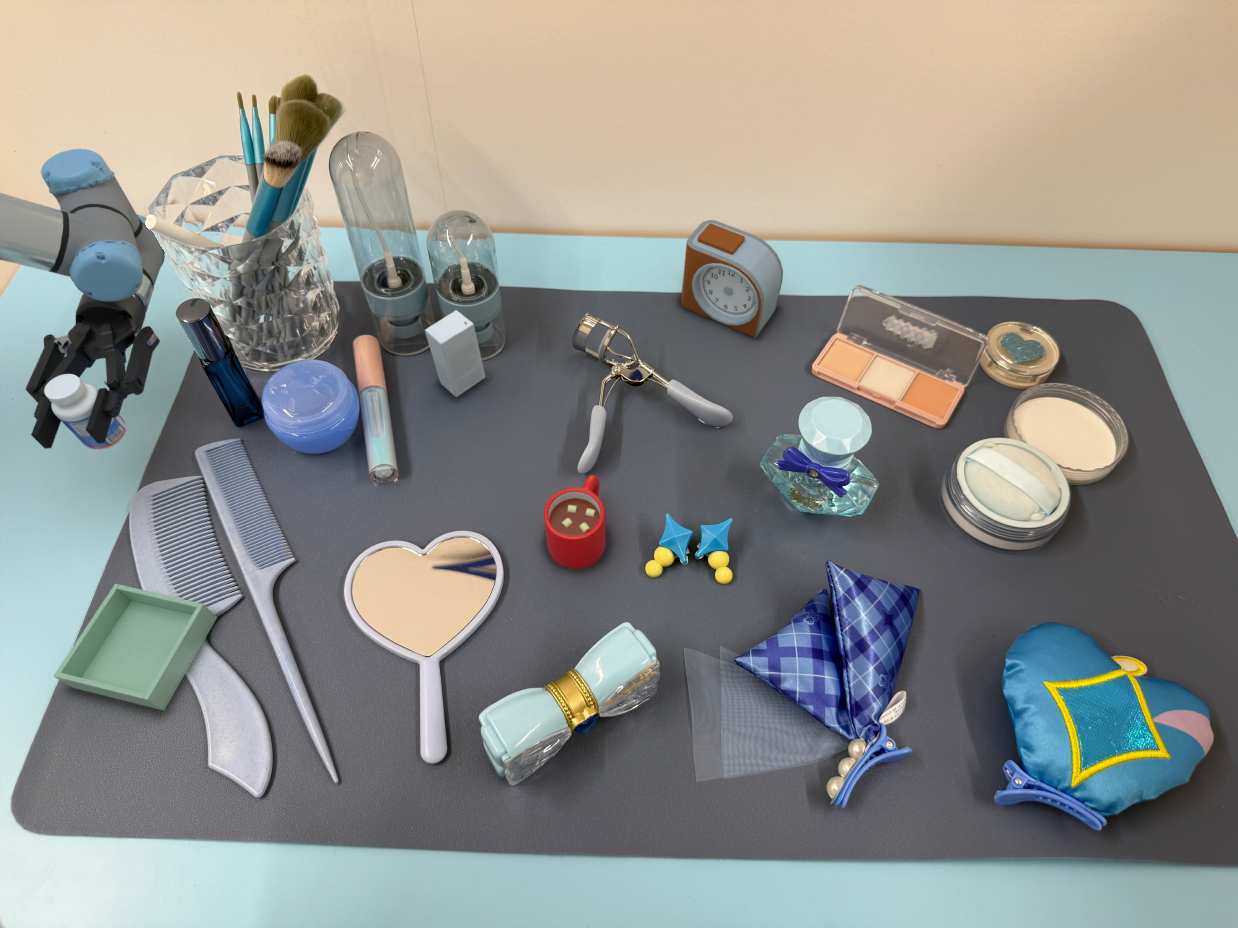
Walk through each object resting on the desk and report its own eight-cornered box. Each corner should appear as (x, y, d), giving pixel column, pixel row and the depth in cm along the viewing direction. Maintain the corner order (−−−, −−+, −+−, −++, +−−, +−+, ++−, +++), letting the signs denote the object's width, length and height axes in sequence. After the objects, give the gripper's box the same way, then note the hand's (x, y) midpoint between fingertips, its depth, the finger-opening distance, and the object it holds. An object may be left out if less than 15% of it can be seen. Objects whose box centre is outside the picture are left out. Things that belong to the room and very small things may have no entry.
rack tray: (73, 687, 93) (52, 676, 89) (131, 597, 100) (115, 583, 96) (164, 710, 91) (147, 699, 88) (217, 617, 98) (203, 603, 95)
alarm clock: (675, 306, 131) (681, 241, 120) (699, 277, 135) (707, 212, 124) (754, 339, 127) (767, 275, 116) (776, 308, 131) (791, 244, 120)
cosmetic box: (469, 364, 123) (457, 308, 113) (486, 378, 122) (475, 323, 112) (438, 384, 121) (423, 329, 111) (455, 399, 119) (441, 344, 109)
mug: (621, 501, 108) (621, 470, 102) (595, 575, 102) (594, 546, 95) (568, 488, 110) (565, 456, 103) (539, 560, 103) (534, 530, 97)
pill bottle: (84, 424, 101) (38, 375, 93) (128, 413, 102) (86, 363, 94) (83, 456, 98) (36, 408, 90) (128, 444, 99) (85, 395, 91)
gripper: (196, 318, 109) (163, 449, 96) (60, 330, 107) (7, 465, 94) (172, 277, 103) (132, 411, 90) (26, 289, 101) (-36, 427, 88)
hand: (68, 438), depth 92 cm, fingers closed on pill bottle, 5 cm apart
